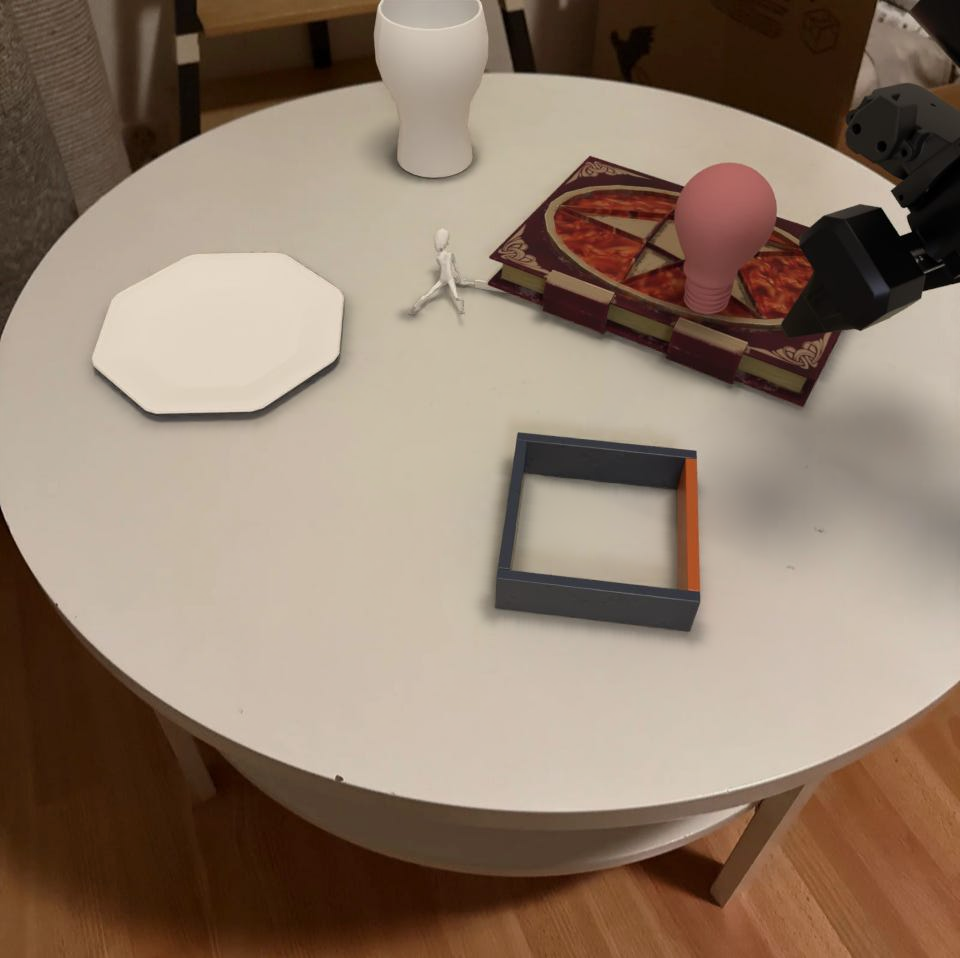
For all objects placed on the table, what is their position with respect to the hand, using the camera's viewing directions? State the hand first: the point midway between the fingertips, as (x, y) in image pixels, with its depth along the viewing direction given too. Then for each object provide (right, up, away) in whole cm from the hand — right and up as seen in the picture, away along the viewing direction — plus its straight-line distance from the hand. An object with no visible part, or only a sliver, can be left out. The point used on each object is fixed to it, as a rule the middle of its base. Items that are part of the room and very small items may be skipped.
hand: (829, 313), depth 60 cm
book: (-5, +6, +21) cm, 23 cm away
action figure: (-23, +4, +20) cm, 30 cm away
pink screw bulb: (-6, +3, +13) cm, 14 cm away
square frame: (-15, -15, +3) cm, 21 cm away
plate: (-44, +1, +17) cm, 47 cm away
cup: (-28, +22, +34) cm, 49 cm away
